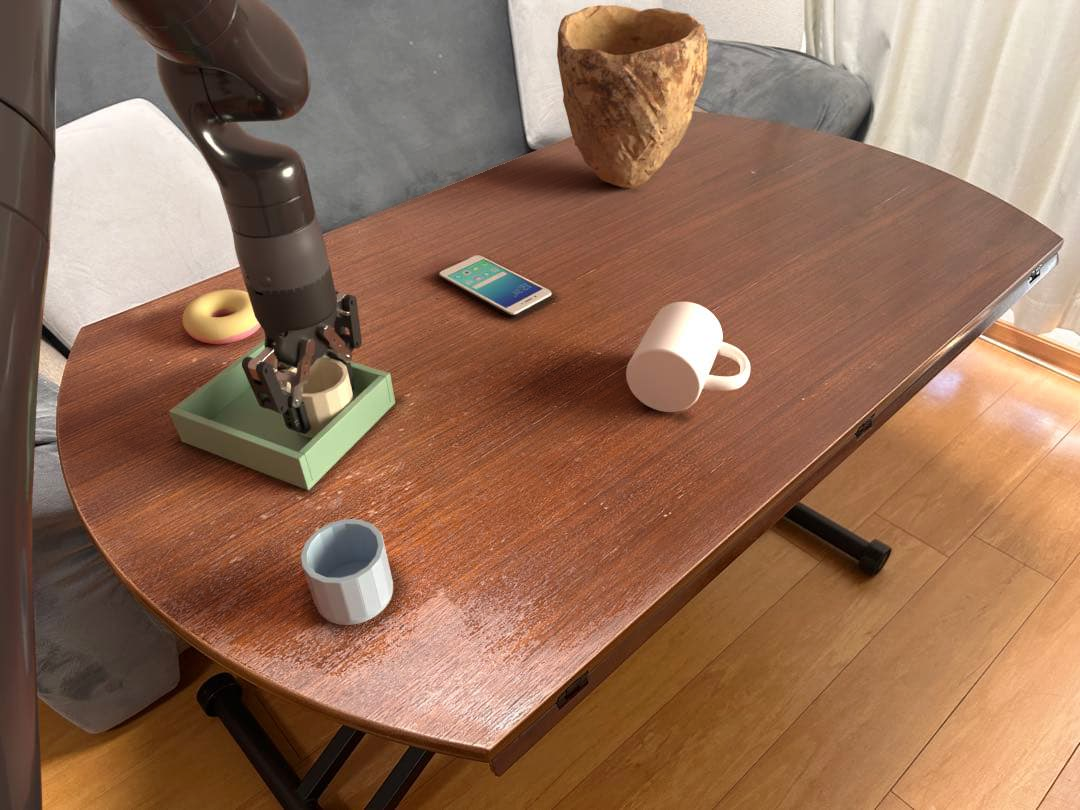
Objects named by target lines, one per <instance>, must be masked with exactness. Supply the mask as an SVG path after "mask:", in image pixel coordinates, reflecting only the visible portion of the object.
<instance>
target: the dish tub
mask: <svg viewBox="0 0 1080 810" xmlns="http://www.w3.org/2000/svg"><path fill="white" fill-rule="evenodd" d="M264 349H265V339H263V340H261V341H260V342H259V343H257V344H256V345H255V346H254V347H252V348H251V349H250V350H248V351H247V352H246V353H244V354H243V355H241V356H240V357H239V358H237V359H236V360H235V361H234V362H233V363H231V364H230V365H228V366H227V367H226V368H224V369H223V370H221V371H220V372H219V373H217V374H216V375H215V376H214V377H212V378H211V379H209V380H208V381H207V382H206V383H204V384H203V385H201V386H200V387H199V388H197V389H196V390H195V391H194V392H192V393H190V394H189V395H188V396H187V397H185V398H184V399H183V400H182V401H180V402H179V403H177V404H176V405H174V407H172V408H170V410H168V413H169V416H170V417H171V420H172V423H173V425H174V427H175V430H176V432H177V434H178V436H179V439H180V441H181V442H182V443H184V444H187V445H190V446H192V447H195V448H197V449H200V450H203V451H205V452H207V453H211V454H213V455H216V456H218V457H221V458H222V459H227V460H229V461H231V462H233V463H237V464H239V465H242V466H244V467H246V468H249V469H252V470H254V471H257V472H259V473H263V474H265V475H267V476H270V477H272V478H275V479H278V480H280V481H282V482H286V483H287V484H290V485H294V486H295V487H299V488H301V489H304V490H305V491H310V490H311V489H312V488H313V487H314V486H315V485H316V484H317V483H318V482H319V481H320V480H321V479H322V478H323V477H324V476H325V475H326V473H328V471H330V470H331V469H332V468H333V466H335V465H336V464H337V463H338V461H339V460H341V459H342V458H343V457H344V456H345V454H346V453H347V452H348V451H349V450H350V449H351V448H352V447H353V446H355V444H357V442H359V440H360V439H361V438H362V437H363V436H364V435H365V434H366V433H367V432H368V431H370V430H371V428H372V427H373V426H374V425H375V424H376V423H378V421H379V420H380V419H381V418H382V417H383V416H385V414H386V413H387V412H388V411H389V410H390V409H391V408H392V407H393V406H394V405H395V404H396V399H395V394H394V389H393V388H394V387H393V383H392V377H391V373H390V372H387V371H385V370H381V369H377V368H374V367H370V366H367V365H364V364H362V363H361V364H360V363H358V362H354V361H352V360H351V361H350V363H351V368H352V372H353V377H354V383H353V386H354V390H352V393H353V397H354V400H353V401H352V402H351V403H350V404H349V405H348V406H347V407H346V408H345V409H344V410H343V411H342V412H340V413H339V414H338V415H337V416H336V417H335V418H334V419H333V420H332V421H331V422H330V423H329V424H328V425H327V426H326V427H325V428H323V429H322V430H321V431H320V432H319V433H318V434H317V435H316V436H315V437H314V438H308V437H305V436H303V435H301V434H300V433H299V432H296V431H293V430H291V429H288V428H287V427H286V425H285V421H284V418H283V415H282V414H280V413H277V412H276V411H273V410H270V409H267V408H263V407H260V406H259V404H258V401H257V399H256V397H255V395H254V392H253V390H252V388H251V386H250V383H249V381H248V379H247V377H246V374H245V372H244V370H243V368H242V361H243V359H244V358H245V357H252V358H255V357H256V356H258V355H259V354H260V353H261V352H262V351H263V350H264ZM320 358H329V357H327V356H326V355H324V356H322V357H320ZM286 368H287V370H289V369H290V368H291V366H288V365H286Z"/></svg>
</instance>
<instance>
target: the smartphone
mask: <svg viewBox="0 0 1080 810" xmlns="http://www.w3.org/2000/svg"><path fill="white" fill-rule="evenodd" d="M439 279H440V280H441V281H442V282H444V283H446V284H448V285H449V286H452V287H453V288H456V289H457V290H459V291H461V292H462V293H464V294H466V295H468V296H470V297H472V298H474V299H475V300H477V301H479V302H481V303H483V304H484V305H486V306H488V307H489V308H491V309H493V310H495V311H497V312H499V313H500V314H503V316H506V317H508V318H510V319H516V318H517V317H519V316H521V315H523V314H524V313H526V312H529V311H531V310H532V309H535V308H536V307H538V306H540V305H541V304H543V303H546V302H547V301H549V300H550V299H552V290H550V289H548V288H546V287H545V286H543V285H540V284H538V283H536V282H534V281H532V280H530V279H528V278H526V277H524V276H523V275H520V274H518V273H516V272H515V271H513V270H510V269H509V268H506V267H504V266H502V265H500V264H499V263H497V262H494V261H492V260H491V259H488V258H486V257H484V256H482V255H479V254H478V255H473V256H471V257H469V258H467V259H464V260H462V261H461V262H457V263H456V264H453V265H452V266H450V267H447V268H445V269H443V270H441V271H440V272H439Z"/></svg>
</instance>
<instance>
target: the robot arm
mask: <svg viewBox="0 0 1080 810" xmlns="http://www.w3.org/2000/svg"><path fill="white" fill-rule="evenodd" d="M107 1H108V2H109V3H110V5H111V6H112V7H113V8H114V9H116V10H115V11H117V12H118V14H120V15H121V16H122V17H123V19H124V20H125V21H126V22H127V23H128V24H129V25H130V26H131V28H132V29H133V30H134V31H135V32H136V33H137V34H138V36H140V38H142V40H143V41H144V42H145V43H146V44H147V45H148V46H149V47H150V48H151V49H152V50H154V52H156V53H155V54H156V57H155V58H156V70H157V76H158V79H159V82H160V85H161V88H162V91H163V92H164V94H165V95H164V96H165V97H166V99H167V100H168V102H169V104H170V106H171V108H172V110H173V111H174V113H175V115H176V117H178V119H179V121H180V123H181V124H182V125H183V127H184V128H185V130H186V132H187V133H188V134H189V136H190V138H191V139H192V140H193V142H194V144H195V146H196V148H197V149H198V151H199V152H200V155H201V156H202V158H203V159H204V161H205V163H206V165H207V166H208V168H209V170H210V171H211V173H212V175H213V177H214V180H215V181H216V183H217V186H218V188H219V192H220V195H221V199H222V201H223V205H224V208H225V211H226V214H227V217H228V222H229V223H230V224H229V225H230V229H231V232H232V238H233V246H234V251H235V255H236V256H235V257H236V259H237V262H238V265H239V268H240V272H241V275H242V279H243V283H244V285H245V288H246V292H248V295H249V299H250V302H251V305H252V308H253V312H254V315H255V318H256V319H257V321H258V322H259V324H260V325H261V326H260V328H262V330H263V331H264V340H265V349H264V350H263V351H262V352H261V353H260V354H259V355H258V356H256V357H255V358H252V357H245V358H244V359H243V361H242V368H243V370H244V372H245V374H246V377H247V379H248V381H249V383H250V386H251V388H252V390H253V392H254V395H255V397H256V399H257V401H258V404H259V406H260V407H263V408H267V409H270V410H273V411H276V412H277V413H280V414H282V415H283V418H284V421H285V425H286V427H287V428H288V429H291V430H293V431H296V432H299V433H302V434H306V433H307V432H308V431H309V430H311V426H310V423H309V419H308V416H307V412H306V408H305V405H304V402H302V394H303V386H304V384H306V383H308V380H309V373H310V367H311V366H312V365H313V364H314V362H315V361H316V360H317V359H318V358H320V357H322V356H324V355H326V356H327V357H329V358H332V359H335V360H338V361H341V362H342V363H343V364H344V365H345V366H346V367H347V371H348V375H349V380H350V384H351V388H352V390H354V386H353V383H354V377H353V372H352V368H351V363H350V361H351V362H352V360H353V353H352V352H353V351H354V350H355V349H356V350H358V349H359V348H360V347H361V346H362V343H363V342H362V341H363V340H362V331H361V325H360V324H361V323H360V317H359V309H358V301H357V297H356V296H355V295H353V294H349V293H345V292H341V291H338V290H336V288H335V282H334V278H333V274H332V268H331V265H330V260H329V254H328V251H327V250H328V249H327V247H326V241H325V238H324V234H323V231H322V228H321V226H320V223H319V221H318V217H317V214H316V210H315V204H314V200H313V196H312V191H311V187H310V182H309V178H308V173H307V169H306V165H305V162H304V160H303V159H304V158H303V157H302V156H301V154H300V153H299V151H297V150H296V149H295V148H293V147H292V146H289V145H287V144H282V143H279V142H276V141H272V140H271V141H270V140H267V139H266V140H265V139H262V138H259V137H256V136H253V135H251V134H249V133H248V132H246V131H245V130H244V129H243V128H242V126H241V125H240V124H239V123H251V122H277V121H279V122H280V121H284V120H288V119H290V118H292V117H294V116H296V115H297V114H298V113H299V112H300V111H301V110H302V109H303V108H304V106H305V105H306V103H307V102H308V100H309V96H310V92H311V84H312V77H311V76H312V75H311V69H310V65H309V61H308V57H307V55H306V52H305V50H304V48H303V45H302V44H301V42H300V40H299V38H298V37H297V35H296V33H295V32H294V31H293V29H292V28H291V27H290V25H288V23H287V22H286V21H285V20H284V19H283V18H282V17H281V16H280V15H279V14H278V13H277V12H276V11H275V10H274V9H273V8H271V6H269V5H268V4H267V3H266V2H264V1H263V0H107ZM61 11H62V0H0V810H43V780H42V779H43V778H42V759H41V758H42V757H41V741H40V740H41V738H40V722H39V721H40V720H39V719H40V718H39V701H38V679H37V656H36V655H37V652H36V631H35V630H36V629H35V627H36V626H35V605H34V600H35V599H34V575H33V574H34V571H33V568H34V567H33V496H34V477H35V476H34V474H35V450H36V426H37V404H38V385H39V371H40V358H41V343H42V335H43V334H42V332H43V323H44V314H45V313H44V312H45V302H46V295H47V294H46V293H47V285H48V284H47V283H48V276H49V275H48V274H49V266H50V258H51V257H50V256H51V244H52V243H51V241H52V227H53V226H52V224H53V209H54V207H53V205H54V194H55V193H54V190H55V177H56V176H55V174H56V158H57V157H56V156H57V155H56V149H57V147H56V146H57V143H56V142H57V139H56V138H57V128H56V127H57V77H58V58H59V57H58V56H59V55H58V54H59V40H60V39H59V38H60V27H61V25H60V24H61ZM347 329H348V333H347ZM286 365H288V366H291V367H294V368H297V373H294V372H291V371H288V370H287V368H286ZM287 382H289V383H290V384H291V391H290V392H287V391H286V390H287Z"/></svg>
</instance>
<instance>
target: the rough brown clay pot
mask: <svg viewBox="0 0 1080 810" xmlns="http://www.w3.org/2000/svg"><path fill="white" fill-rule="evenodd" d="M556 48H557V49H556V57H557V64H558V71H559V76H560V82H561V86H562V92H563V93H562V94H563V96H562V103H563V106H564V109H565V113H566V117H567V120H568V121H567V122H568V126H569V129H570V133H571V137H572V138H573V140H574V145H575V146H576V147H577V149H578V151H579V152H580V154H581V157H582V159H583V161H584V163H585V164H586V165H587V166H588V167H589V168H590V169H591V171H592V172H593V173H594V174H595V175H596V176H597V177H598V178H599V180H601V181H603V182H605V183H609V184H611V185H613V186H617V187H619V188H622V189H625V188H626V189H628V188H631V189H633V188H635V187H639V186H640V185H642V184H644V183H646V182H648V181H649V179H650V178H651V177H652V176H653V174H654V173H655V172H657V171H658V170H659V169H660V168H661V167H662V166H663V165H664V163H665V161H666V159H667V158H669V156H670V154H671V153H672V152H673V150H674V149H676V148H677V147H678V145H679V144H680V142H681V141H682V139H683V138H684V136H685V134H686V132H687V130H688V128H689V125H690V123H691V121H692V120H693V110H694V106H695V105H696V102H697V99H698V98H699V95H700V92H701V89H702V87H703V84H704V82H705V80H706V74H707V67H708V66H707V65H708V57H709V38H708V35H707V32H706V27H705V24H702V23H700V22H699V21H698V20H697V19H696V18H695V17H694V16H692V15H691V14H690V13H688V12H687V13H685V12H681V11H675V10H670V9H665V8H661V7H655V8H647V9H643V10H640V9H637V8H632V7H628V6H623V5H618V4H617V5H615V4H614V5H602V4H599V5H593V6H587V7H584V8H582V9H580V10H578V11H575V12H572V13H569V14H566V15H564V17H563V18H562V19H561V20H560V23H559V26H558V31H557V47H556Z"/></svg>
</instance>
